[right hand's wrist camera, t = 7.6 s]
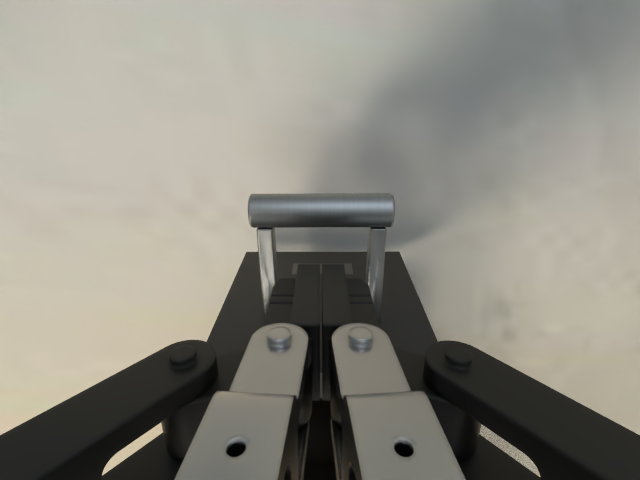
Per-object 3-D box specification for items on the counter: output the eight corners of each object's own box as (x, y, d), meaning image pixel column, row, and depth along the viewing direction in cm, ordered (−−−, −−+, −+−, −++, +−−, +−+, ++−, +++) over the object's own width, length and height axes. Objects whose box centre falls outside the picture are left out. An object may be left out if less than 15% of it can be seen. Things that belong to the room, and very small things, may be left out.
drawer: (237, 158, 19) (165, 226, 10) (407, 157, 19) (477, 225, 10) (265, 453, 28) (239, 622, 19) (381, 454, 28) (407, 624, 19)
